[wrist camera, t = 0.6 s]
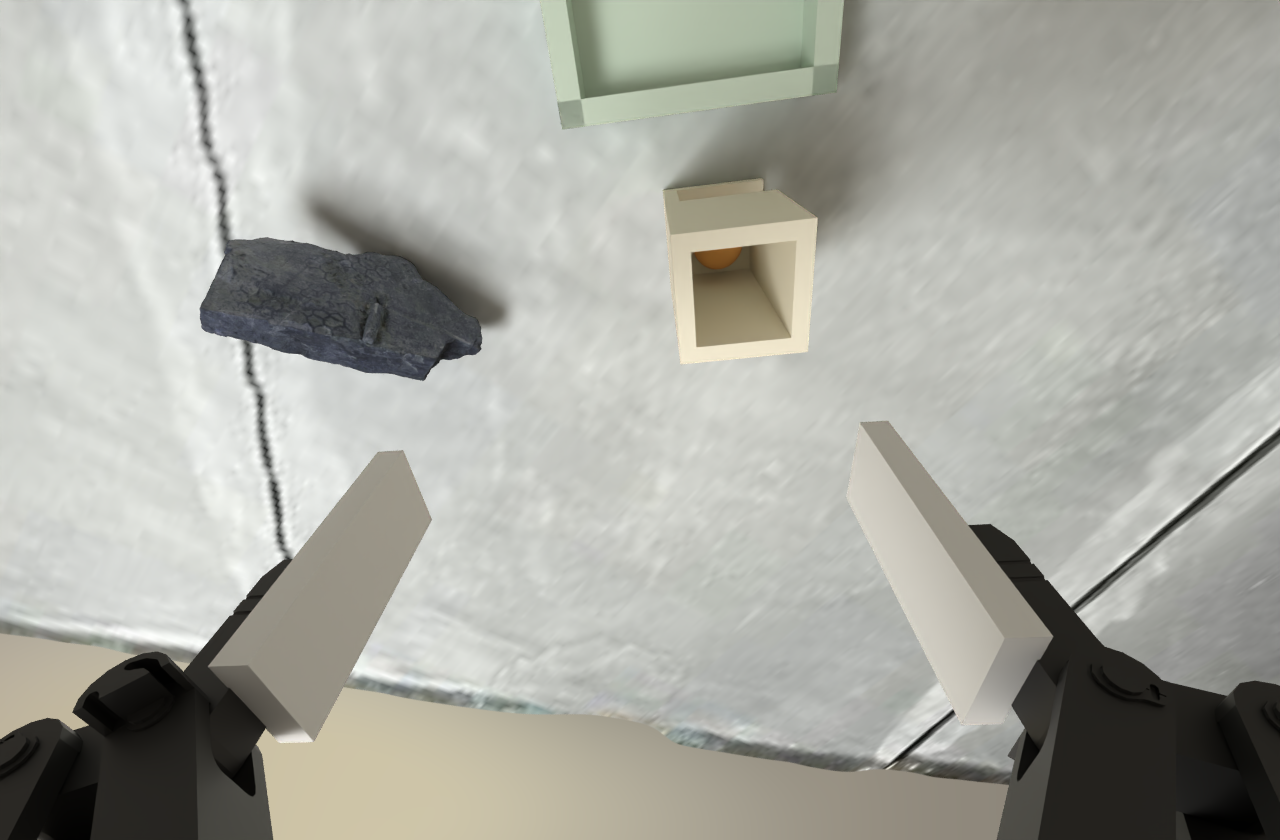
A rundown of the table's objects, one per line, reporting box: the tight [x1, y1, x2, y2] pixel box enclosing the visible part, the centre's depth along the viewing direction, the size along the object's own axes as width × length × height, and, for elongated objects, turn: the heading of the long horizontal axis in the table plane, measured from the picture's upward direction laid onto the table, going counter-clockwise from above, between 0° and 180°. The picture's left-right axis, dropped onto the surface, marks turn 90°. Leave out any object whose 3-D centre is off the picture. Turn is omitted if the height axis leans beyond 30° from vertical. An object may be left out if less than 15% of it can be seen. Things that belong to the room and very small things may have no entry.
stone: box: [200, 237, 482, 381], centre depth 30 cm, size 14×6×10 cm, turn 77°
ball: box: [694, 247, 742, 269], centre depth 30 cm, size 3×3×3 cm
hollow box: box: [663, 178, 818, 364], centre depth 27 cm, size 6×6×12 cm
